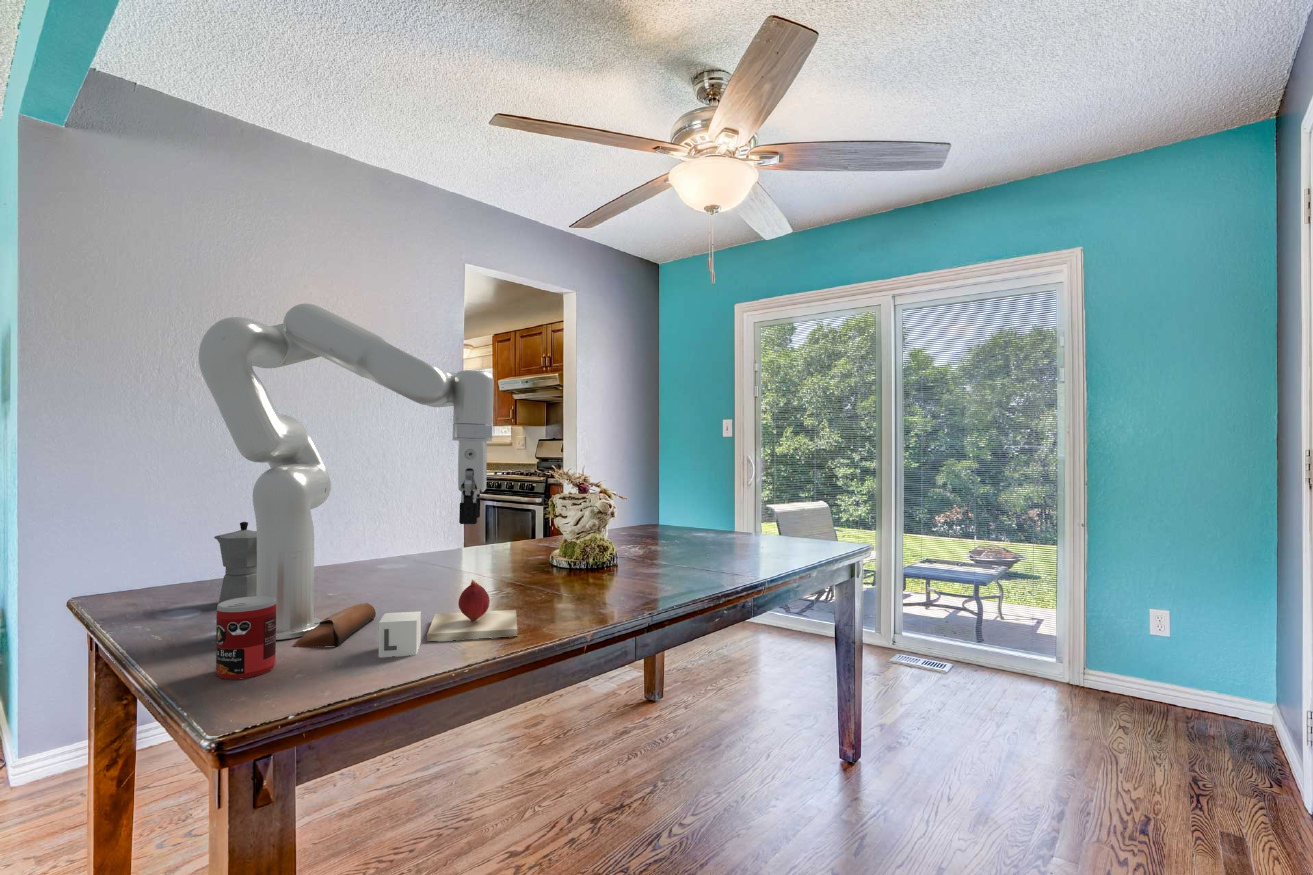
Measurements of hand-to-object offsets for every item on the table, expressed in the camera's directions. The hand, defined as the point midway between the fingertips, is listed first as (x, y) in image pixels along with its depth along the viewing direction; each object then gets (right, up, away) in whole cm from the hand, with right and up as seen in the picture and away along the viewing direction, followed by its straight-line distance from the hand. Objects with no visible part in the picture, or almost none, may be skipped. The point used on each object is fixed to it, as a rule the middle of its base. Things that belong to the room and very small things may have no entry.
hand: (469, 520), depth 129 cm
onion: (+1, -20, -1) cm, 20 cm away
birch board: (+1, -21, -1) cm, 21 cm away
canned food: (-28, -21, -25) cm, 43 cm away
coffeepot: (-54, -21, +17) cm, 60 cm away
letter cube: (-8, -21, -15) cm, 27 cm away
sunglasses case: (-24, -21, -5) cm, 32 cm away
